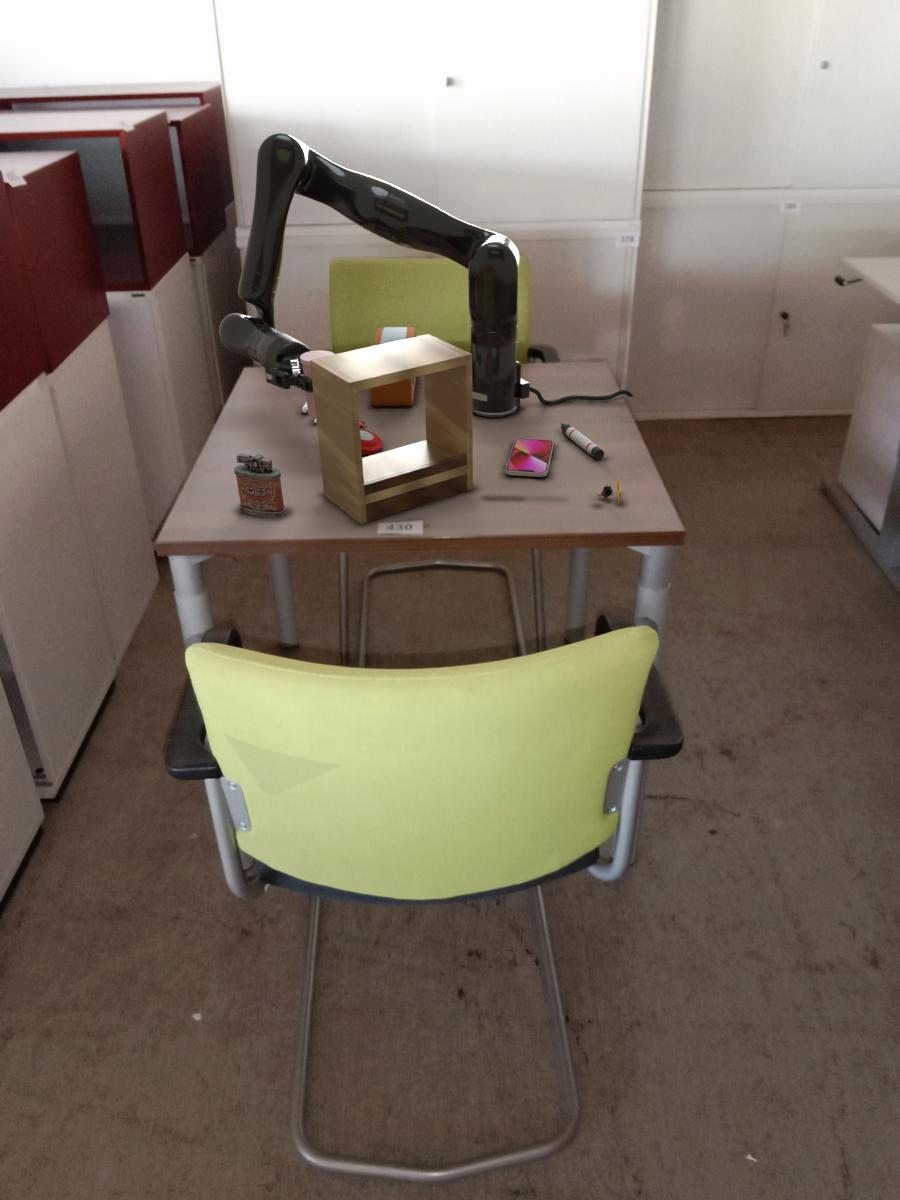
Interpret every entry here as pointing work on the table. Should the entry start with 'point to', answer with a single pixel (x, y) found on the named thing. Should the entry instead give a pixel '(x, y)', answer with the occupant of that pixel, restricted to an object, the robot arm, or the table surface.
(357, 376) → the shelf
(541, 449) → the smartphone
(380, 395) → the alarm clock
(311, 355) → the lidded canister
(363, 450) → the tracker holder
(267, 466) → the lighter
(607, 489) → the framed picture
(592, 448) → the marker
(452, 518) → the table surface
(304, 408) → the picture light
